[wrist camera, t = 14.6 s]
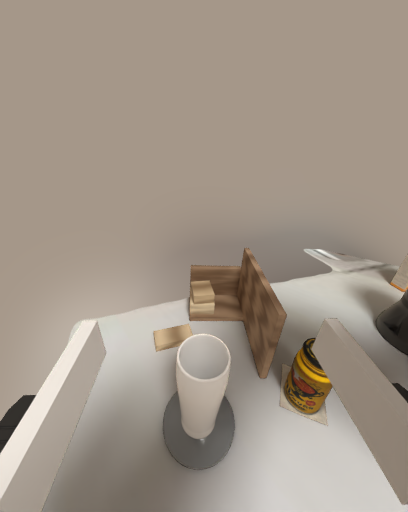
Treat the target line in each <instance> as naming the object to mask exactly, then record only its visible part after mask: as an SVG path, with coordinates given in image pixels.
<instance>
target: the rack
mask: <svg viewBox="0 0 408 512" xmlns="http://www.w3.org/2000/svg"><path fill="white" fill-rule="evenodd" d="M194 281H210V283H211V286H212V289H213V292H214V294H215V296H214V304H215V306H214V314H190V321H243V322H244V326H245V329H246V332H247V336H248V339H249V343H250V346H251V349H252V353H253V356H254V360H255V363H256V366H257V370H258V373H259V377H260V378H266V377H267V374H268V371H269V368H270V365H271V362H272V359H273V356H274V353H275V350H276V347H277V344H278V341H279V337H280V334H281V331H282V328H283V325H284V322H285V319H286V316H287V314H286V313H285V311H284V309H283V307H282V306H281V304H280V302H279V300H278V299H277V297H276V295H275V293H274V291H273V290H272V288H271V286H270V284H269V283H268V281H267V279H266V277H265V276H264V274H263V272H262V270H261V268H260V267H259V265H258V263H257V261H256V260H255V258H254V256H253V255H252V253H251V251H250V249H249V248H245V249H244V253H243V260H242V266H241V267H240V266H201V265H191V280H190V287H191V282H194Z"/></svg>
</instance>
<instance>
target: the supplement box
mask: <svg viewBox="0 0 408 512" xmlns="http://www.w3.org/2000/svg"><path fill="white" fill-rule="evenodd" d="M390 284H391V285H393V286H394V287H396V288H397V289H399V290H401V291H402V292H405V291H406V290H407V289H408V254H407V256H406V258H405V260H404V261H403V263H402V264H401V266H400V268H399V269H398V271H397V273H396V274H395V276H394V278H393V279H392V281H391V283H390Z"/></svg>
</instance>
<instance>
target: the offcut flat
mask: <svg viewBox="0 0 408 512" xmlns="http://www.w3.org/2000/svg"><path fill="white" fill-rule="evenodd" d="M190 336H193V334H192V331H191V329H190V326H189V324H186V325H181V326H176V327H172V328H167V329H162V330H158V331H154V339H155V346H156V352H157V351H161V350H165V349H169V348H173V347H177V346H180V345H181V344H182V342H183V341H184V340H186V339H187V338H188V337H190Z"/></svg>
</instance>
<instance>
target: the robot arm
mask: <svg viewBox="0 0 408 512" xmlns="http://www.w3.org/2000/svg"><path fill="white" fill-rule="evenodd" d="M376 326H377V328H378V330H379V332H380V333H381V334H382V336H383V337H384V338H385V339H386V340H387V341H388V342H390V343H391V344H392V345H393V346H395V347H396V348H398V349H399V350H401V351H402V352H404V353H405V354H407V355H408V289H407V290H406V292H405V293H404V295H403V297H402V298H401V299H400V301H398V302H397V303H395V304H394V305H392V306H391V307H389V308H388V309H386V310H385V311H383V312H382V313H381V314H380V315H379V317H378V319H377V320H376ZM311 350H312V351H313V353H314V355H315V357H316V358H317V360H318V362H319V363H320V365H321V367H322V369H323V370H324V372H325V374H326V375H327V377H328V379H329V381H330V382H331V384H332V386H333V387H334V389H335V391H336V392H337V394H338V396H339V398H340V399H341V401H342V403H343V404H344V406H345V408H346V410H347V411H348V413H349V415H350V416H351V418H352V420H353V422H354V423H355V425H356V427H357V428H358V430H359V432H360V434H361V435H362V437H363V439H364V440H365V442H366V444H367V446H368V447H369V449H370V451H371V452H372V454H373V456H374V458H375V459H376V461H377V463H378V464H379V466H380V468H381V470H382V471H383V473H384V475H385V476H386V478H387V480H388V482H389V483H390V485H391V487H392V488H393V490H394V492H395V494H396V495H397V497H398V499H399V500H400V502H401V504H402V505H405V504H408V391H407V390H406V389H405V388H403V387H402V386H401V385H400V384H398V383H391V382H390V381H389V380H388V379H387V378H386V376H385V375H384V374H383V373H382V372H381V371H380V369H379V368H378V367H377V366H376V365H375V363H374V362H373V361H372V360H371V359H370V357H369V356H368V355H367V354H366V353H365V351H364V350H363V349H362V348H361V347H360V345H359V344H358V343H357V342H356V341H355V339H354V338H353V337H352V336H351V335H350V333H349V332H348V331H347V330H346V329H345V327H344V326H343V325H342V324H341V323H340V321H339V320H338V319H337V318H332V319H324V321H323V324H322V326H321V328H320V330H319V333H318V335H317V337H316V340H315V342H314V344H313V346H312V349H311ZM105 355H106V350H105V346H104V343H103V339H102V336H101V332H100V329H99V325H98V322H97V321H82V323H81V324H80V326H79V328H78V329H77V331H76V332H75V334H74V336H73V337H72V339H71V340H70V342H69V344H68V345H67V347H66V349H65V350H64V352H63V353H62V355H61V357H60V358H59V360H58V361H57V363H56V365H55V366H54V368H53V370H52V371H51V373H50V374H49V376H48V378H47V379H46V381H45V382H44V384H43V386H42V387H41V389H40V390H39V392H38V394H37V395H25V396H23V397H22V398H20V399H19V400H18V401H17V402H16V403H15V404H14V405H13V406H12V407H11V408H10V409H9V410H8V411H7V413H6V414H5V416H4V417H3V419H2V420H1V421H0V512H41V511H42V509H43V506H44V504H45V501H46V499H47V497H48V494H49V492H50V489H51V487H52V484H53V482H54V480H55V477H56V475H57V472H58V470H59V467H60V465H61V462H62V460H63V458H64V455H65V453H66V450H67V448H68V445H69V443H70V441H71V438H72V436H73V433H74V431H75V428H76V426H77V423H78V421H79V419H80V416H81V414H82V411H83V409H84V406H85V404H86V402H87V399H88V397H89V394H90V392H91V389H92V387H93V384H94V382H95V380H96V377H97V375H98V372H99V370H100V367H101V365H102V363H103V360H104V358H105Z"/></svg>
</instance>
